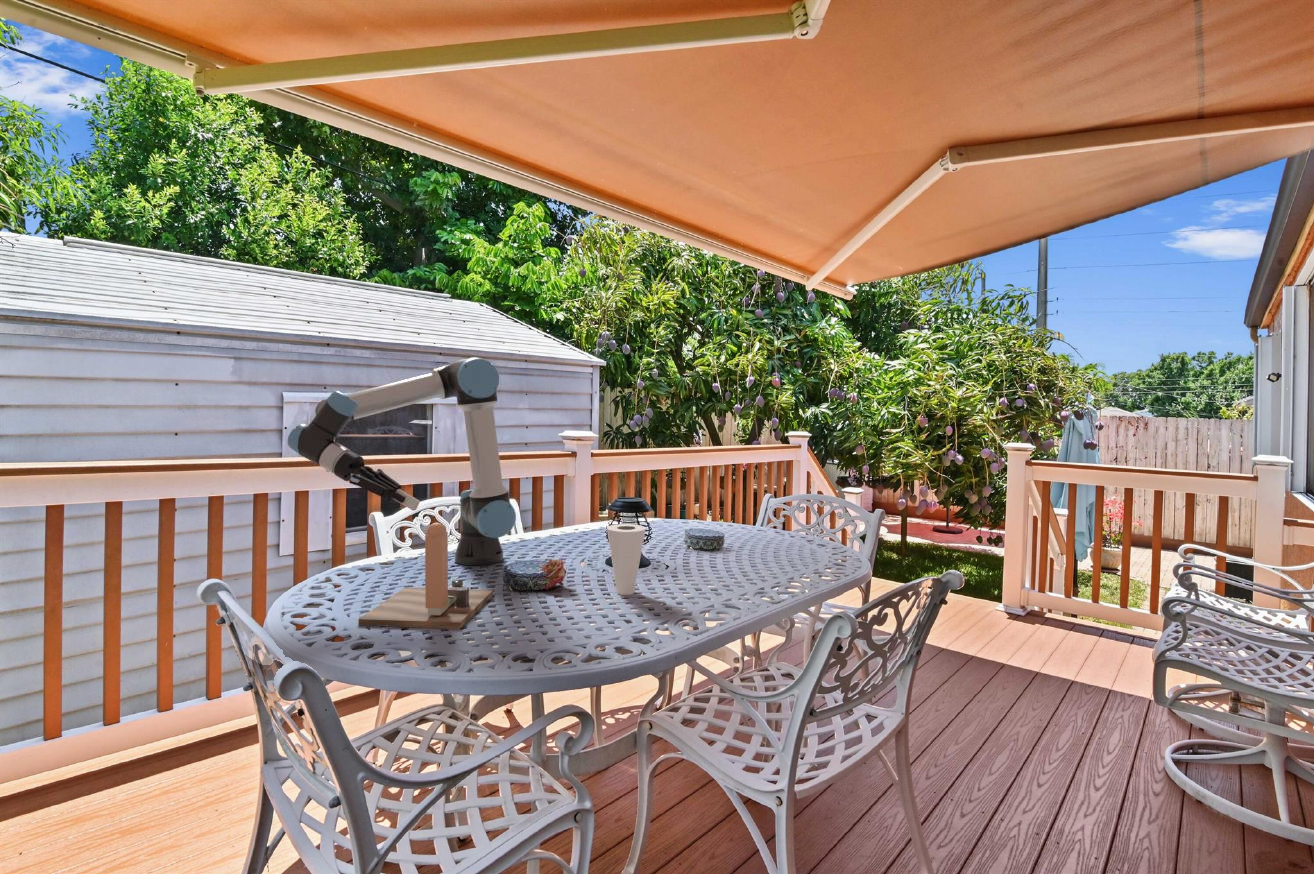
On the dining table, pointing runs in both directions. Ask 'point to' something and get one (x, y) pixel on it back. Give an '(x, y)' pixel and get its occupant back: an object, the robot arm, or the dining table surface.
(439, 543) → the link
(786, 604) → the dining table surface
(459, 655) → the dining table surface
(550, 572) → the flower
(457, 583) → the keeper
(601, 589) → the dining table surface
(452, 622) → the board
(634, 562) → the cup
